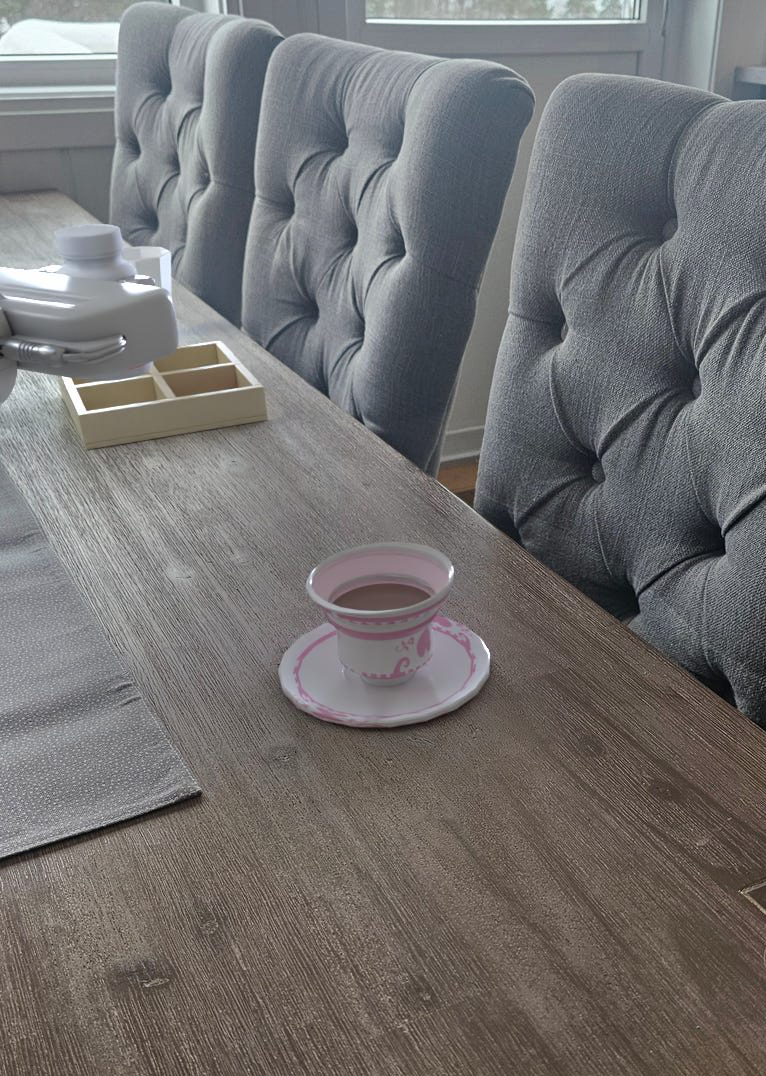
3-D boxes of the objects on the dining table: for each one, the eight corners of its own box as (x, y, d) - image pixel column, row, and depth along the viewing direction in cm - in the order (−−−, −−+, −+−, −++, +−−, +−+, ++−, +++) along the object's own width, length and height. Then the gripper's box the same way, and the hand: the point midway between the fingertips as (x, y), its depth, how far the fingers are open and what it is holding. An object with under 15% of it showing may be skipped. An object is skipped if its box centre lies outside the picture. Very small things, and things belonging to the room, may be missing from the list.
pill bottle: (156, 378, 73) (131, 235, 68) (72, 386, 72) (41, 241, 67) (152, 355, 77) (129, 219, 73) (73, 362, 76) (44, 224, 71)
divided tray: (61, 394, 105) (54, 363, 104) (225, 370, 111) (221, 340, 109) (85, 450, 93) (78, 415, 92) (268, 420, 99) (264, 386, 97)
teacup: (419, 756, 57) (413, 653, 54) (234, 695, 62) (218, 596, 59) (527, 647, 66) (528, 552, 62) (358, 601, 71) (350, 511, 67)
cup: (181, 336, 121) (168, 258, 117) (85, 342, 120) (69, 264, 115) (184, 318, 127) (172, 244, 122) (93, 324, 125) (77, 249, 121)
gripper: (64, 301, 56) (231, 246, 67) (-207, 265, 64) (-20, 220, 75) (89, 422, 60) (244, 351, 70) (-171, 373, 68) (3, 316, 78)
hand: (106, 283), depth 73 cm, fingers closed on pill bottle, 5 cm apart
